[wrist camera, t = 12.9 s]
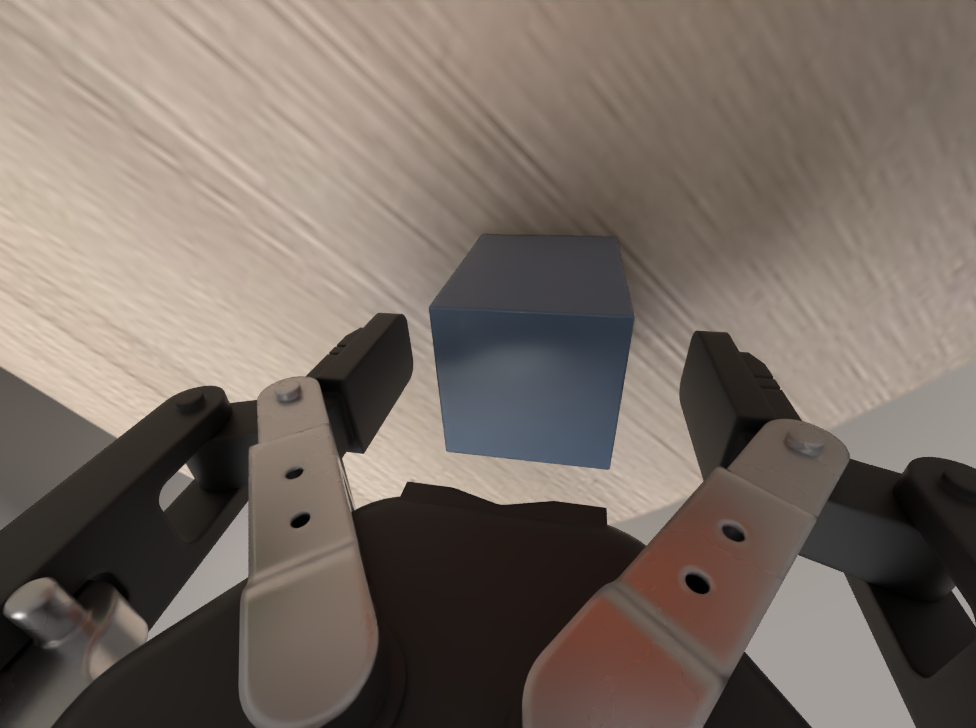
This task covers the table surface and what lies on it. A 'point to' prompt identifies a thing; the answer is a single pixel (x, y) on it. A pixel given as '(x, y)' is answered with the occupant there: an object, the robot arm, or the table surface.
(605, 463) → the block
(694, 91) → the table surface
